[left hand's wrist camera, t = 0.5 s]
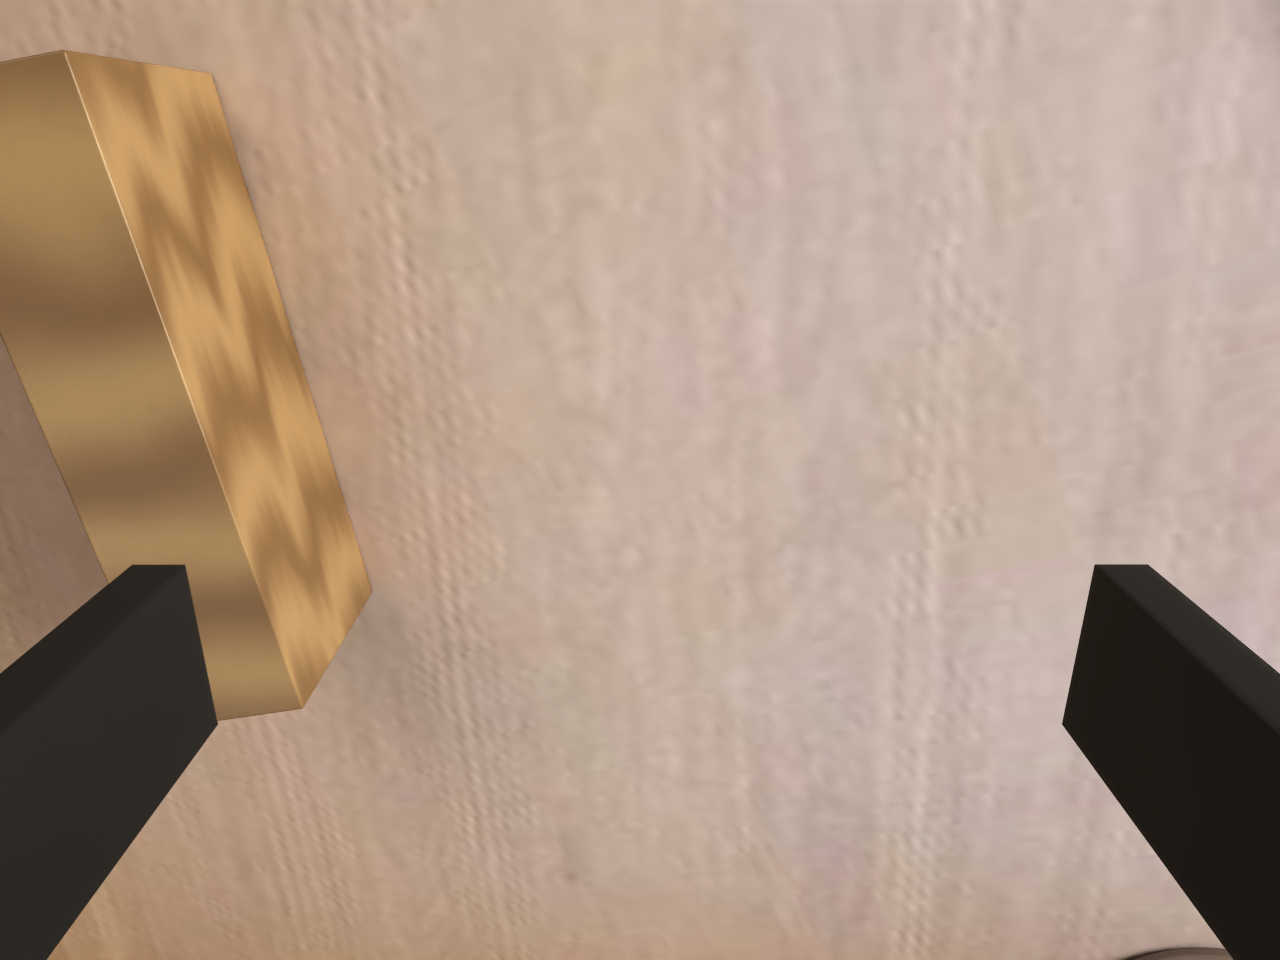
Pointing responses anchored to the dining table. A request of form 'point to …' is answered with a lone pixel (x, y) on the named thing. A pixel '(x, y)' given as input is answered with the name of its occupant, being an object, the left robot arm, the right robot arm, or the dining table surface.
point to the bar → (171, 364)
